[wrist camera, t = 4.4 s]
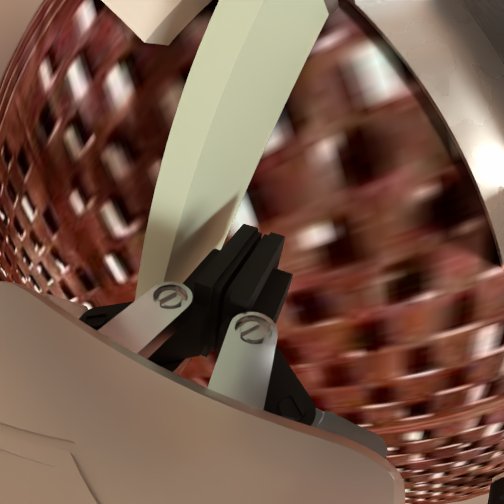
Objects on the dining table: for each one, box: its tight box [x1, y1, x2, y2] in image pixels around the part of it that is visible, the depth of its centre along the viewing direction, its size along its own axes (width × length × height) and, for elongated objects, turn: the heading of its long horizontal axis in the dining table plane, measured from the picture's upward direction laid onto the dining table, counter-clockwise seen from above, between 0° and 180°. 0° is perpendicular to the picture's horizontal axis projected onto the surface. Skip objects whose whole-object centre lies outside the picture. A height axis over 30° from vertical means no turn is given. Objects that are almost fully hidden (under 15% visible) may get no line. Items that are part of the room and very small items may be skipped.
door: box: [135, 0, 338, 301], centre depth 10 cm, size 1×16×7 cm, turn 157°
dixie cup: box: [488, 472, 504, 504], centre depth 18 cm, size 8×8×11 cm
